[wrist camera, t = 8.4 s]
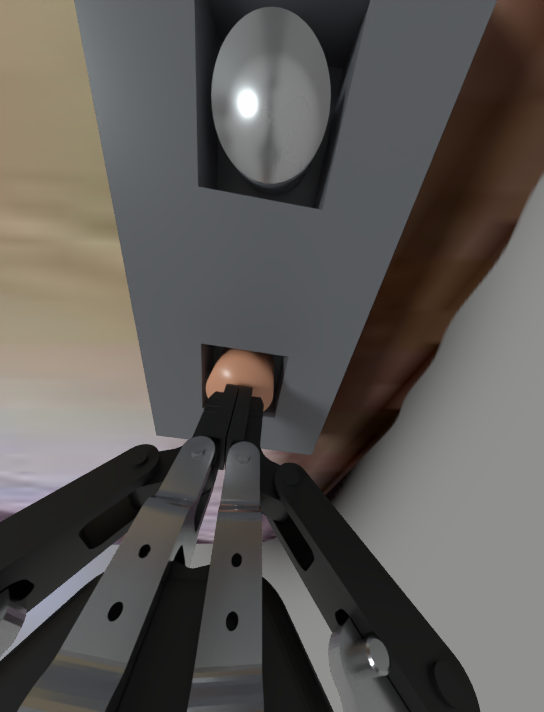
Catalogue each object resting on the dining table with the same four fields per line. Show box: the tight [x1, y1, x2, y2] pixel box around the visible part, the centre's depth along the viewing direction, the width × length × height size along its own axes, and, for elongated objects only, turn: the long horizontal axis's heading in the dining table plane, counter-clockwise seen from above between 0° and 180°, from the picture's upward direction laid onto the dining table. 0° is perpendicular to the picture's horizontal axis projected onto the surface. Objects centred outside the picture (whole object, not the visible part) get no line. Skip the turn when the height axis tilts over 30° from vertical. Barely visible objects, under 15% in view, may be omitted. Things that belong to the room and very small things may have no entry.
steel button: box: [211, 7, 331, 195], centre depth 8 cm, size 4×4×3 cm
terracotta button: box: [206, 347, 274, 411], centre depth 14 cm, size 4×4×3 cm
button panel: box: [74, 0, 497, 455], centre depth 12 cm, size 24×12×4 cm, turn 171°
